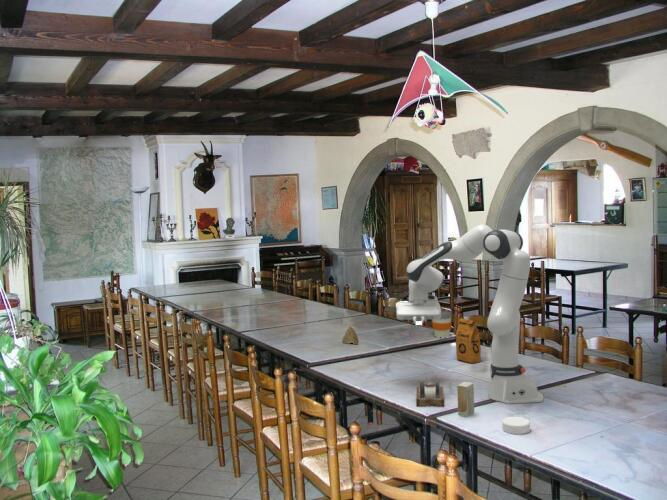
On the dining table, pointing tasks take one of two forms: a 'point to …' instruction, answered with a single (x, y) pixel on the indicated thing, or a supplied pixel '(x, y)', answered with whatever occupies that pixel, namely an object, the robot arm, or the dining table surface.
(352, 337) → the rock
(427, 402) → the brown wooden rectangular frame
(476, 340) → the coffee package
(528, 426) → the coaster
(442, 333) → the reusable coffee cup
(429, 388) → the jar
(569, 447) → the dining table surface
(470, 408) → the skincare box
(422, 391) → the bar
